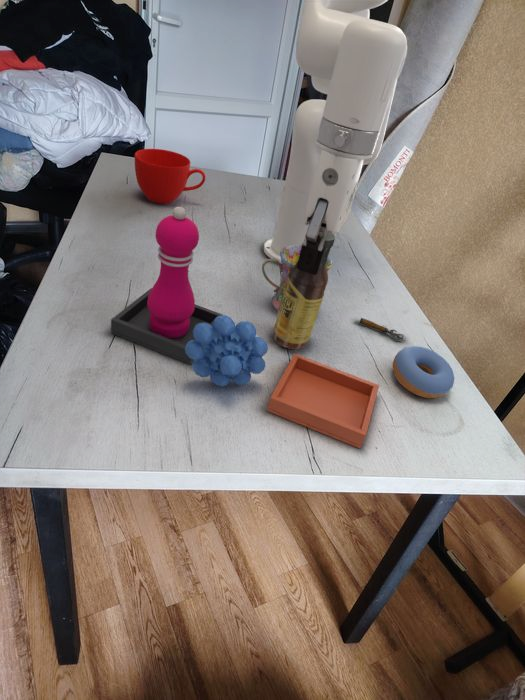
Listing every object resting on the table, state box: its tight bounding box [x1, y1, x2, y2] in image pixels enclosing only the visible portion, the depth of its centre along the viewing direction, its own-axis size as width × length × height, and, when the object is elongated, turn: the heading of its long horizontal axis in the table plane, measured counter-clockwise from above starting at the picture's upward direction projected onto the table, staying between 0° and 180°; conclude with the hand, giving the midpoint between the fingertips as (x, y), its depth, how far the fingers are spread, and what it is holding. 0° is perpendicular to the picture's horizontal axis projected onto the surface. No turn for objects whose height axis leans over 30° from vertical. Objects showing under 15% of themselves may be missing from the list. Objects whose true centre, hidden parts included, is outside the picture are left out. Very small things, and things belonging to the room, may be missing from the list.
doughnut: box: [392, 345, 455, 399], centre depth 77 cm, size 10×10×5 cm
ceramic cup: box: [134, 148, 206, 205], centre depth 116 cm, size 13×17×10 cm
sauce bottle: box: [272, 231, 336, 350], centre depth 75 cm, size 6×6×20 cm
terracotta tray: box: [266, 353, 380, 449], centre depth 69 cm, size 12×14×3 cm
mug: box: [261, 245, 333, 312], centre depth 86 cm, size 12×9×11 cm
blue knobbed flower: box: [185, 314, 269, 388], centre depth 65 cm, size 12×7×12 cm, turn 102°
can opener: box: [359, 317, 406, 342], centre depth 88 cm, size 9×2×1 cm, turn 60°
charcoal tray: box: [110, 287, 224, 365], centre depth 76 cm, size 12×14×3 cm
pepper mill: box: [147, 206, 200, 338], centre depth 71 cm, size 7×7×20 cm
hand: (311, 263), depth 72 cm, fingers closed on sauce bottle, 4 cm apart
